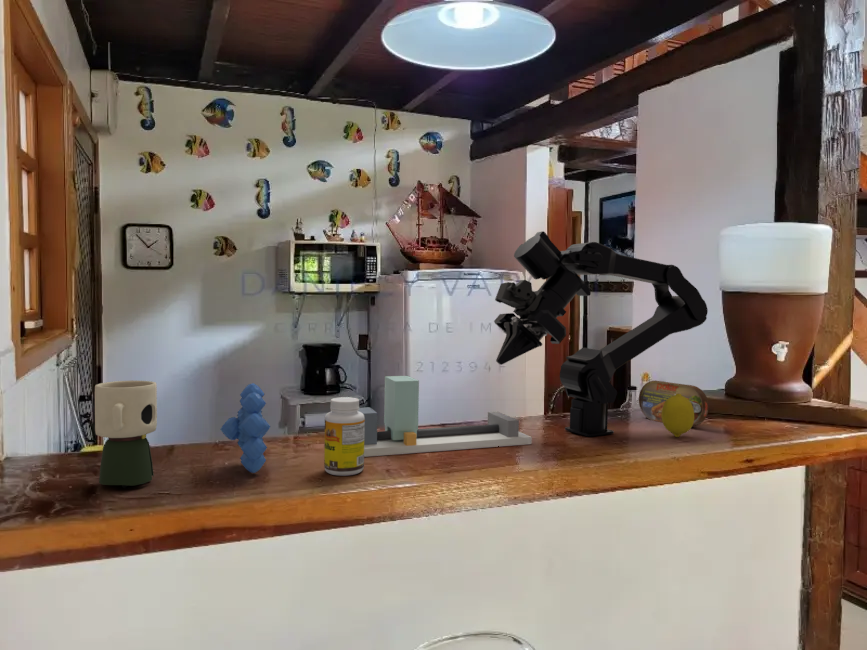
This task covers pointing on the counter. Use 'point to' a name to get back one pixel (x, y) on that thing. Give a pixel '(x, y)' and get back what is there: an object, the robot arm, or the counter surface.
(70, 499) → the counter surface
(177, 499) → the counter surface
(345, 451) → the supplement bottle
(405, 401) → the sleeve
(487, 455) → the counter surface
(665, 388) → the tin
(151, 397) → the character mug
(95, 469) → the counter surface
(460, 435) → the cord rig
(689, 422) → the lemon
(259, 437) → the grapes
